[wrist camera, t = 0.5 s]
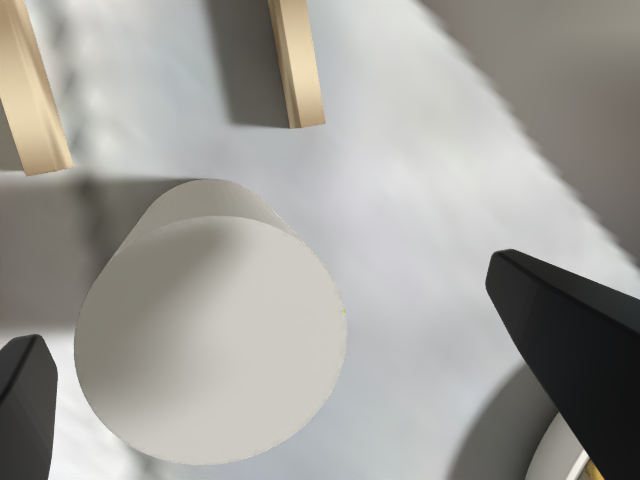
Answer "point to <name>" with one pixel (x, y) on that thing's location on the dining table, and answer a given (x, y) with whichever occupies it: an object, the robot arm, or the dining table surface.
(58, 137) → the open wooden frame
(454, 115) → the dining table surface
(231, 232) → the cup
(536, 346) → the robot arm
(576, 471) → the bowl
